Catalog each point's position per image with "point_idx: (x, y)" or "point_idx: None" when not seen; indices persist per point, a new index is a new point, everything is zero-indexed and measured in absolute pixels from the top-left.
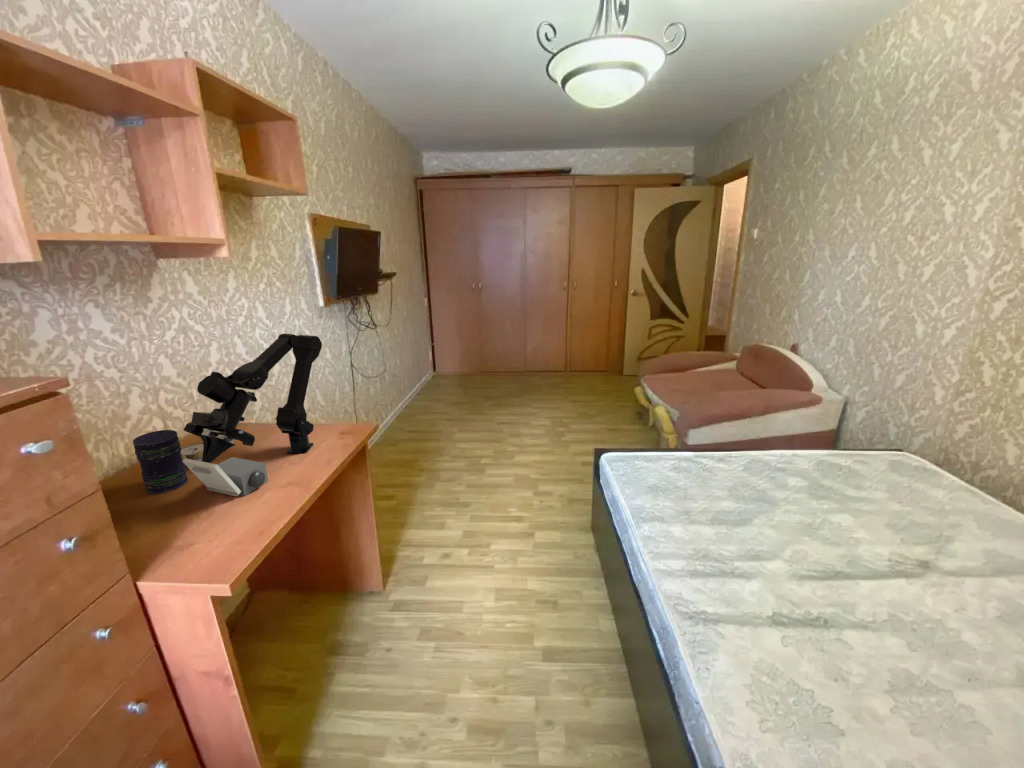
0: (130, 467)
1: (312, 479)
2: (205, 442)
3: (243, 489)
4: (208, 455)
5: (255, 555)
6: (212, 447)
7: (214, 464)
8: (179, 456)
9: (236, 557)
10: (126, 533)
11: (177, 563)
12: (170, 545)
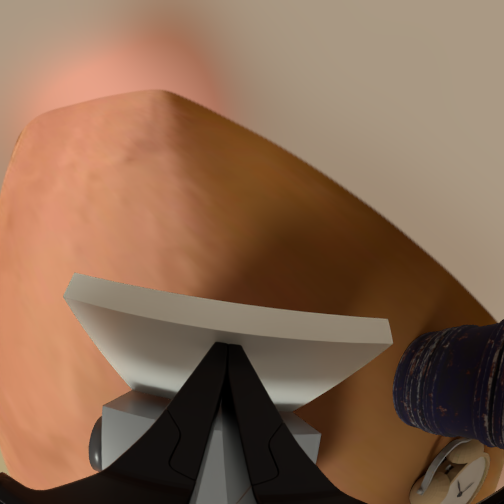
0: None
1: (23, 467)
2: (301, 498)
3: (125, 395)
4: (187, 384)
5: (8, 166)
6: (152, 448)
7: (84, 297)
8: (464, 422)
9: (32, 153)
10: (325, 175)
11: (123, 118)
12: (177, 149)
